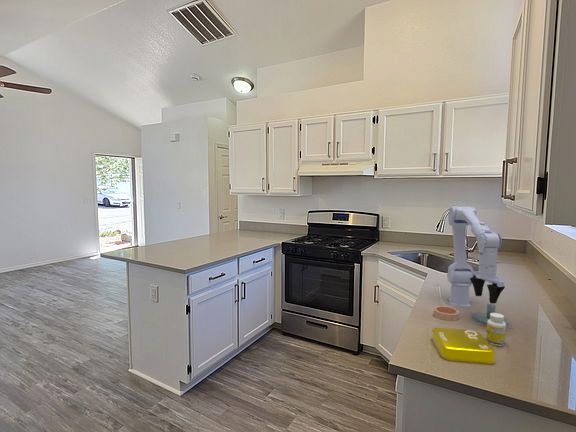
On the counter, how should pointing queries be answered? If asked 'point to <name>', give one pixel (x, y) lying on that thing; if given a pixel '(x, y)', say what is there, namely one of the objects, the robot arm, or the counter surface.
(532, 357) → the counter surface
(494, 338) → the supplement bottle
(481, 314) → the lid
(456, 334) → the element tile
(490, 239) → the robot arm
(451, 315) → the bowl
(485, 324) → the mat
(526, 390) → the counter surface
